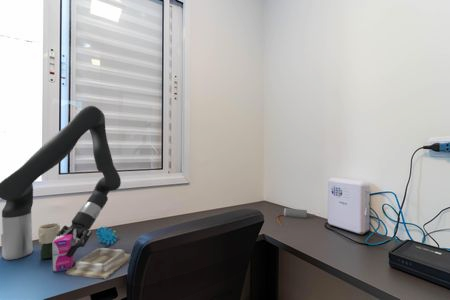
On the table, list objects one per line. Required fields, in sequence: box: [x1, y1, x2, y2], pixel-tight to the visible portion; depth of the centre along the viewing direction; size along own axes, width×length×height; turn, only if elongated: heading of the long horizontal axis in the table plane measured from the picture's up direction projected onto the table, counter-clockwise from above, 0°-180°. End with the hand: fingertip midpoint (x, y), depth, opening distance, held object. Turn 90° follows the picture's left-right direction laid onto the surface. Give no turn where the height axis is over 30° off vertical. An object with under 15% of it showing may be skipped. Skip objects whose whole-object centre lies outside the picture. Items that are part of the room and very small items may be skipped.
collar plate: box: [65, 247, 131, 280], centre depth 89 cm, size 16×16×4 cm
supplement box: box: [52, 234, 75, 273], centre depth 88 cm, size 6×6×12 cm
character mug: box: [37, 222, 61, 259], centre depth 96 cm, size 11×7×13 cm, turn 2°
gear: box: [95, 226, 117, 246], centre depth 110 cm, size 11×6×10 cm
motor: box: [276, 207, 316, 226], centre depth 138 cm, size 23×22×5 cm
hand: (60, 254), depth 87 cm, fingers closed on supplement box, 8 cm apart
